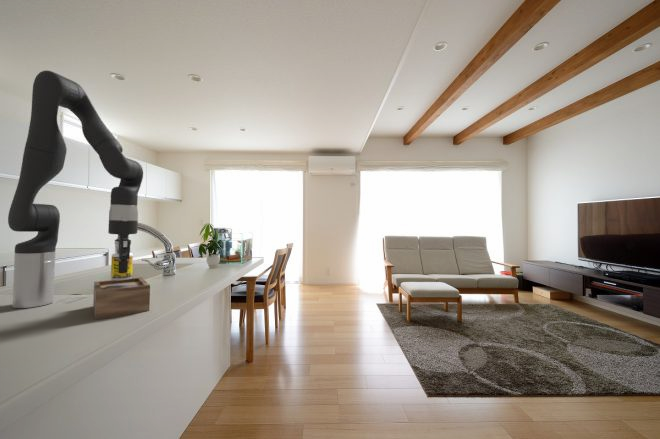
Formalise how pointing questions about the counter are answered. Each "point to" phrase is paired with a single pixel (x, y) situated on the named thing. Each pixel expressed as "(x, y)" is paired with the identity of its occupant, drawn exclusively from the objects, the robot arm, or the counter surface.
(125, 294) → the wooden box
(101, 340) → the counter surface
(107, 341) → the counter surface
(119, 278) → the supplement bottle
